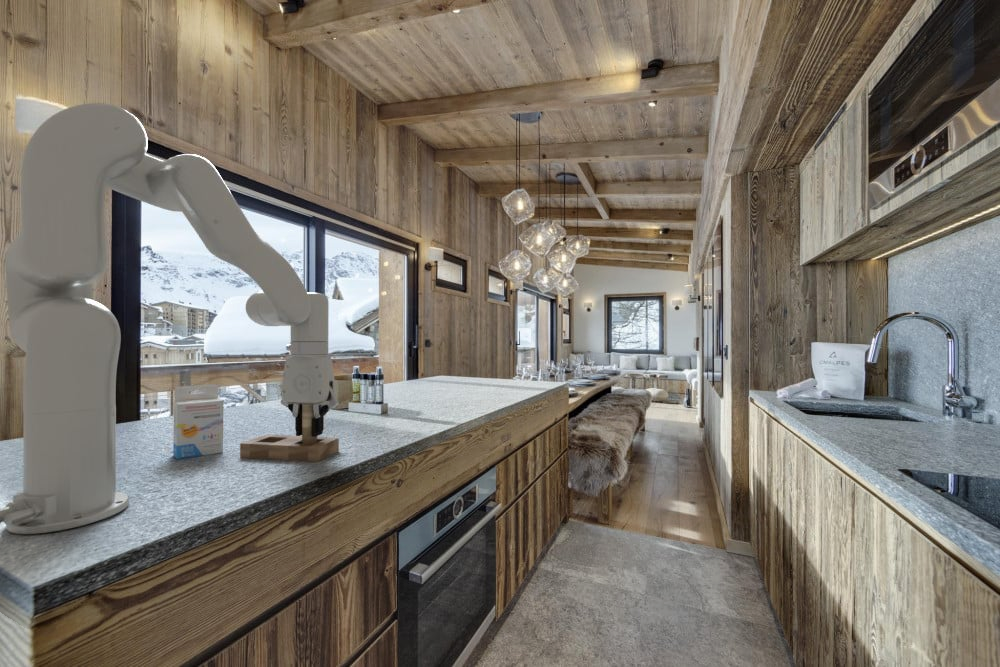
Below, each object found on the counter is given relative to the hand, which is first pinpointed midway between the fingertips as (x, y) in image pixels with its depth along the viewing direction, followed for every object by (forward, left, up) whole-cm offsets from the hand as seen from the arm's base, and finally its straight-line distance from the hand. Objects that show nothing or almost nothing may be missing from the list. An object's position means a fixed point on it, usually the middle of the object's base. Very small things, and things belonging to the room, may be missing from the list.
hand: (309, 434), depth 94 cm
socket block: (0, +4, -5) cm, 6 cm away
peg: (0, 0, -4) cm, 4 cm away
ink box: (-3, +24, -5) cm, 25 cm away
